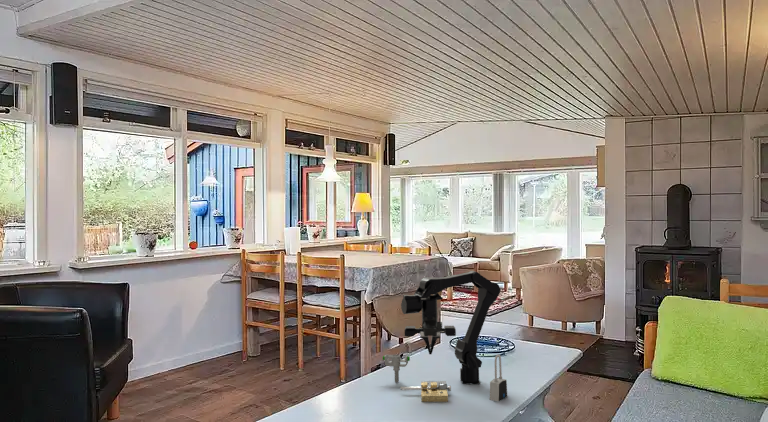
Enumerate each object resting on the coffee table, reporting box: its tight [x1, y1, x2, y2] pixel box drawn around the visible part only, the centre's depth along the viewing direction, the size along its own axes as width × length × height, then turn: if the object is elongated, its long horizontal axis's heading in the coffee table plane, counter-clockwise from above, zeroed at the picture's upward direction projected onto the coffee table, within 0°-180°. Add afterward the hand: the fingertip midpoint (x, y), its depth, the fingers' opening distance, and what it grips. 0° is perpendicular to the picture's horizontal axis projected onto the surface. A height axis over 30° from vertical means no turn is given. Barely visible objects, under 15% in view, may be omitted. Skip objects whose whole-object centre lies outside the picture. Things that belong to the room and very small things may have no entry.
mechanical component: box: [382, 354, 411, 384], centre depth 221 cm, size 3×10×10 cm, turn 79°
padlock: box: [489, 354, 508, 402], centre depth 200 cm, size 7×4×15 cm, turn 141°
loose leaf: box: [420, 381, 449, 403], centre depth 202 cm, size 9×10×4 cm
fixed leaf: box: [400, 380, 452, 392], centre depth 210 cm, size 18×10×4 cm, turn 87°
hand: (430, 354), depth 214 cm, fingers closed
